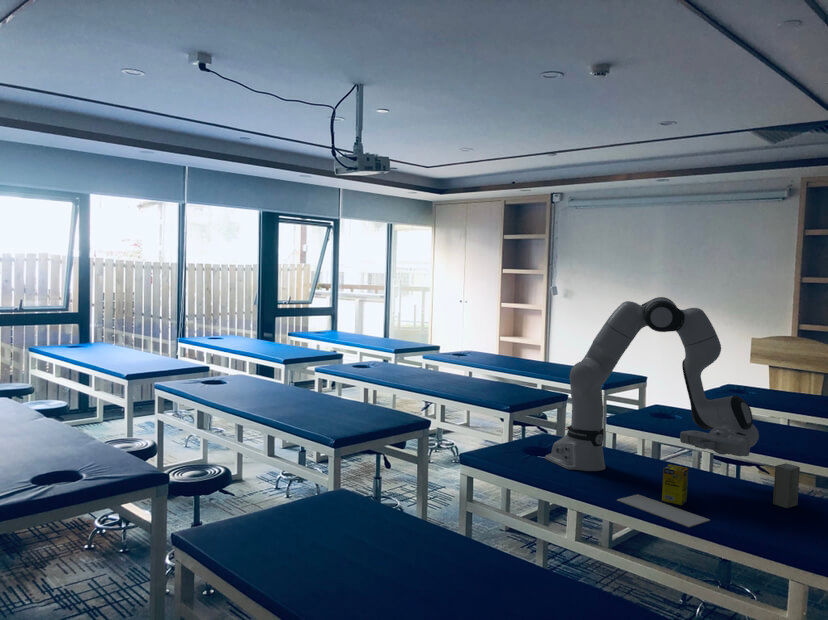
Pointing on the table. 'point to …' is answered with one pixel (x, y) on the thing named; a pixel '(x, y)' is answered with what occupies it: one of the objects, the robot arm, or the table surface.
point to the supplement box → (675, 485)
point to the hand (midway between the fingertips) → (699, 445)
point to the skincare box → (786, 485)
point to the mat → (664, 510)
